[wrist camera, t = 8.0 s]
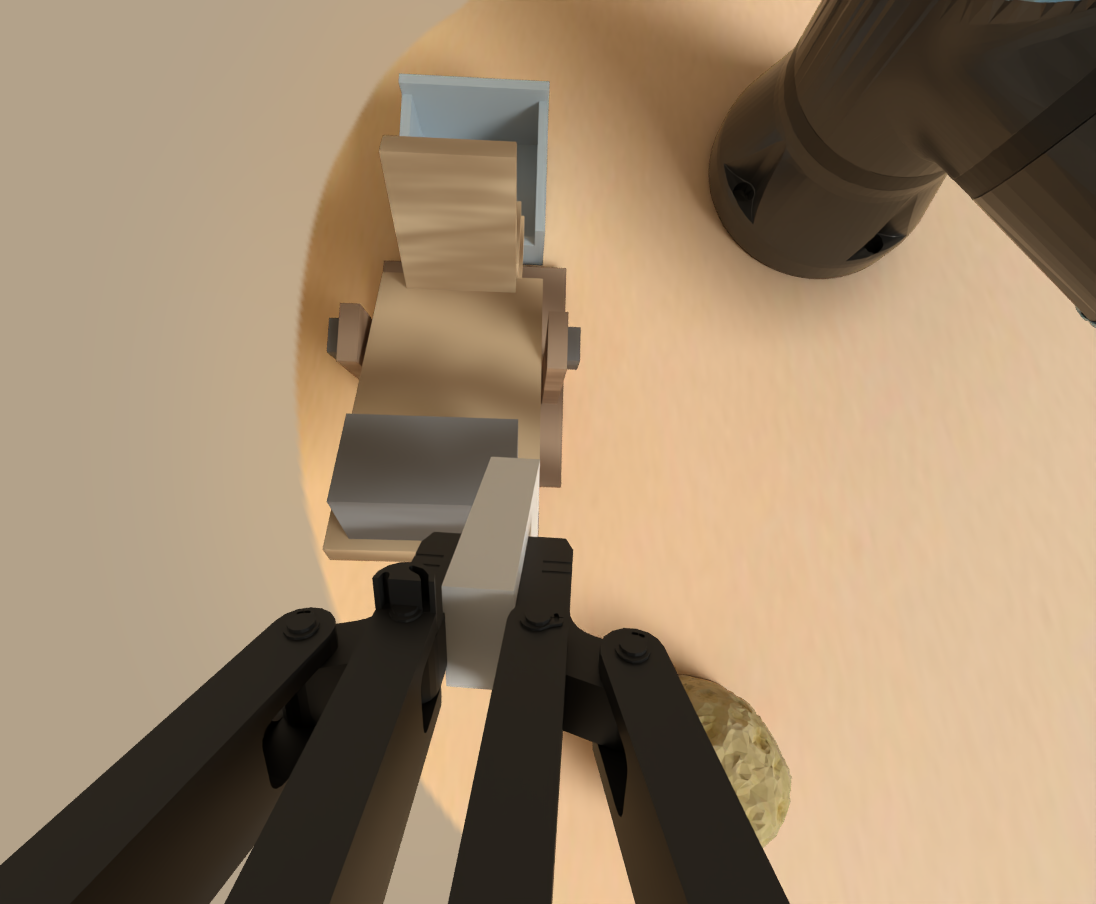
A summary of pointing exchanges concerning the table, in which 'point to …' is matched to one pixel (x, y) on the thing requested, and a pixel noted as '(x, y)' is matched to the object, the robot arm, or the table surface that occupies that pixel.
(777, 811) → the decorative item
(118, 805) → the robot arm
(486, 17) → the table surface
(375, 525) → the lever
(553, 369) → the catapult stand
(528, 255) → the blue open box
